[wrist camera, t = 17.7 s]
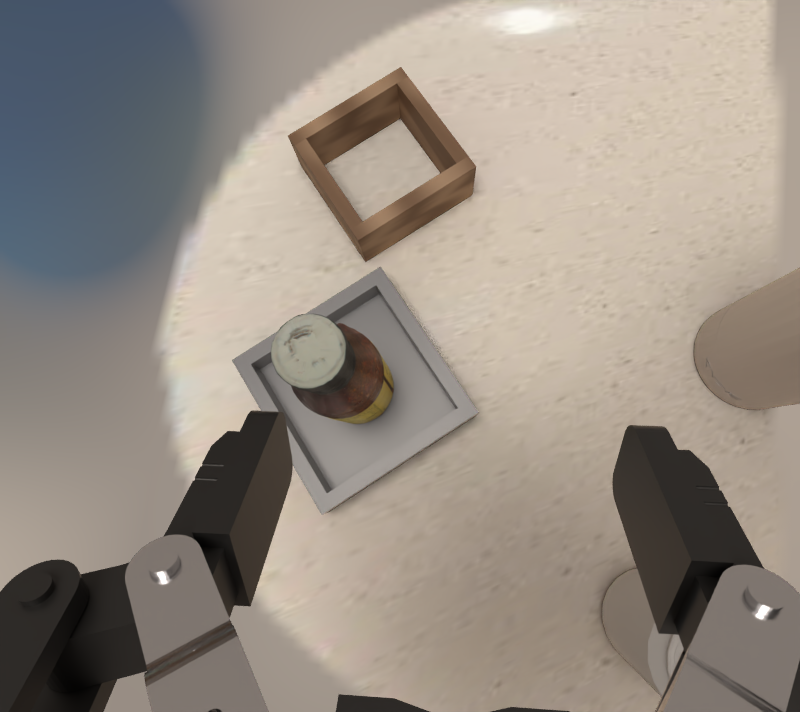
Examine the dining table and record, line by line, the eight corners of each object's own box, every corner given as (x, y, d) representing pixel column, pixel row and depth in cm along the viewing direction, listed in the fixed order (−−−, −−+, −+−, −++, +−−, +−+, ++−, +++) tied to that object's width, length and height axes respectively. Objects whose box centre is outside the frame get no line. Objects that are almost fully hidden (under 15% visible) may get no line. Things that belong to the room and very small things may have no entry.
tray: (384, 280, 50) (380, 266, 47) (475, 416, 47) (478, 412, 44) (245, 367, 50) (231, 360, 46) (329, 511, 47) (321, 514, 43)
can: (624, 680, 43) (695, 762, 31) (582, 585, 44) (636, 628, 32) (712, 644, 43) (816, 712, 31) (667, 550, 44) (751, 581, 33)
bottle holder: (404, 103, 54) (400, 67, 49) (472, 194, 51) (476, 166, 47) (301, 166, 53) (287, 135, 48) (365, 261, 51) (358, 240, 46)
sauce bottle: (331, 350, 48) (262, 273, 29) (400, 360, 48) (377, 287, 28) (318, 423, 47) (236, 394, 28) (389, 434, 47) (356, 411, 27)
